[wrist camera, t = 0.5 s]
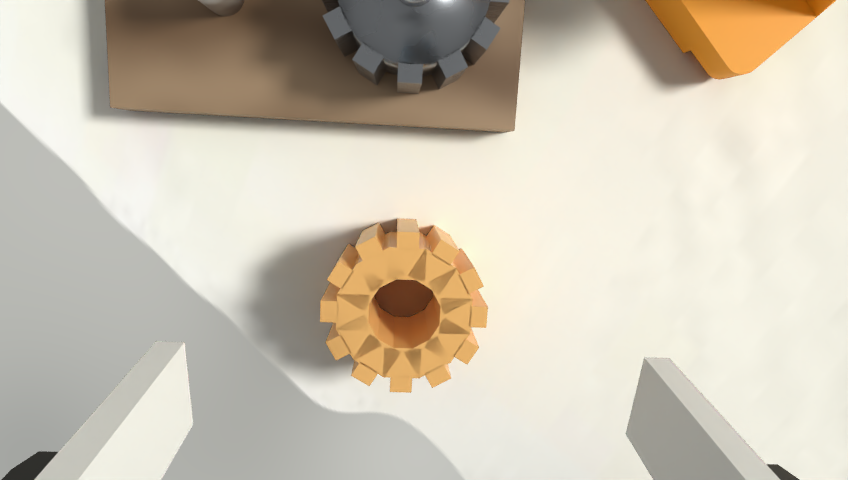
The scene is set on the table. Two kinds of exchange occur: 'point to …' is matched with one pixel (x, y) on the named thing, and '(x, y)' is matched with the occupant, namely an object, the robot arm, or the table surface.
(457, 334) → the orange gear
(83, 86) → the table surface
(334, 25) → the gear
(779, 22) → the bracket
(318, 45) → the gear board
